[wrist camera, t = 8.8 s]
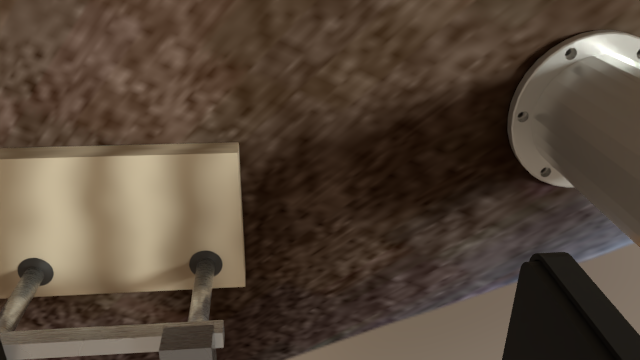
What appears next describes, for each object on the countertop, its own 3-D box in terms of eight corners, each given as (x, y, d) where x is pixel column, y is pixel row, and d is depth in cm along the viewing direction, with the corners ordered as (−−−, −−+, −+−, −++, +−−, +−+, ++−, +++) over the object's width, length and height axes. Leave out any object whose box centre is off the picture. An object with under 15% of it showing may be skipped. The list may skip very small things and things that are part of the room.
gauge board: (238, 142, 43) (237, 153, 41) (245, 272, 48) (245, 287, 47) (-41, 149, 41) (-55, 161, 39) (-1, 283, 47) (-12, 300, 45)
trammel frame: (229, 233, 44) (220, 347, 33) (231, 271, 46) (223, 392, 35) (-21, 243, 42) (-119, 367, 31) (-9, 282, 44) (-99, 413, 33)
